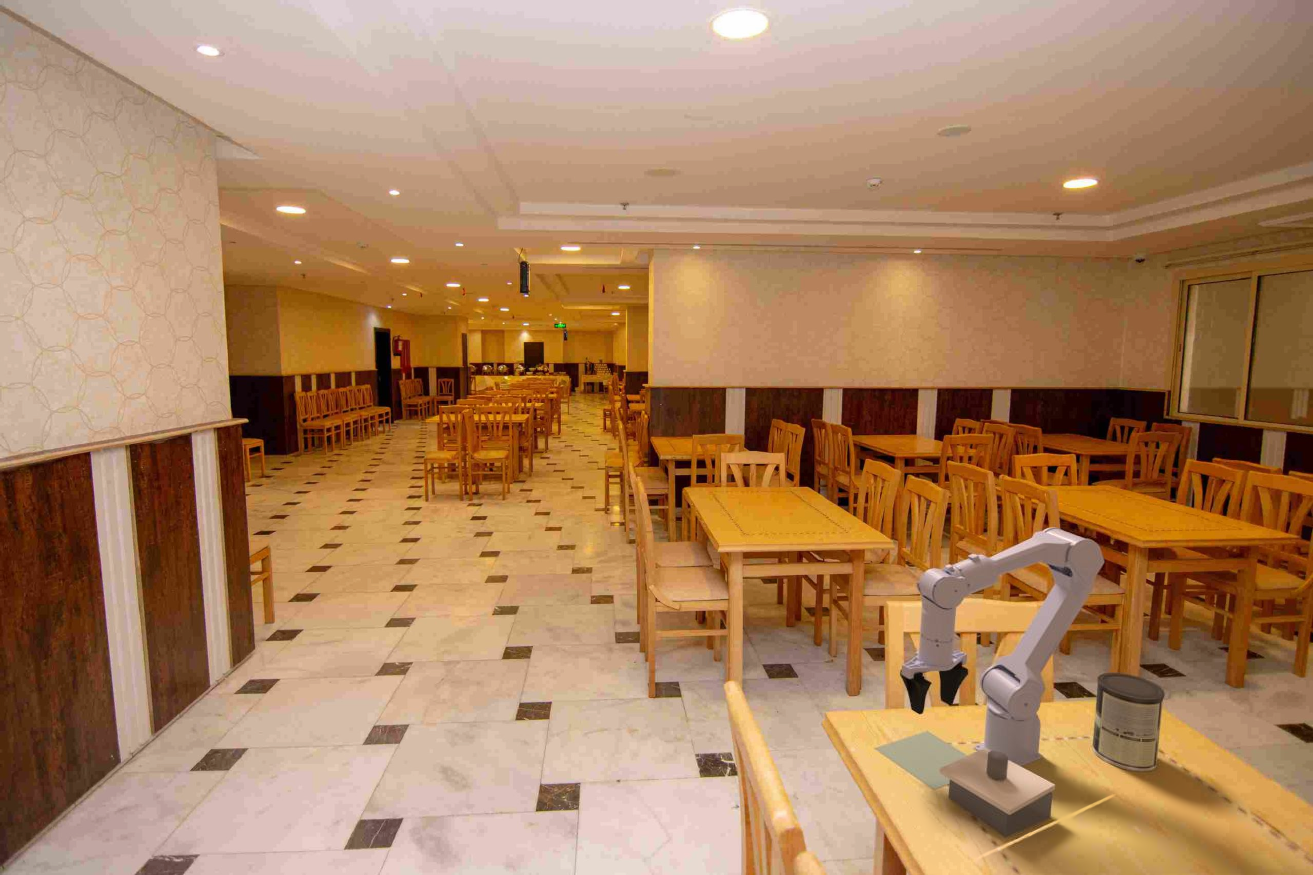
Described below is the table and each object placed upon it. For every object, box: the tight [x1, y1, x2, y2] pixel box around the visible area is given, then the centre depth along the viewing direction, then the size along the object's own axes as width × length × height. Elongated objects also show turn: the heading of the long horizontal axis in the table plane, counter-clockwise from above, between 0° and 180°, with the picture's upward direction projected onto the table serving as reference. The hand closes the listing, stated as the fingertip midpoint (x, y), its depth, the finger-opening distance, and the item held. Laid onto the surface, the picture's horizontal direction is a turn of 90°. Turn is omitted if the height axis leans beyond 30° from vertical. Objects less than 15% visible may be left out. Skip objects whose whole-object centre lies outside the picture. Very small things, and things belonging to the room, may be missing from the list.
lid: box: [940, 748, 1056, 815], centre depth 114 cm, size 12×12×4 cm
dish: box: [948, 780, 1053, 838], centre depth 114 cm, size 11×11×5 cm
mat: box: [874, 730, 969, 791], centre depth 128 cm, size 14×14×1 cm
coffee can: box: [1091, 672, 1166, 773], centre depth 129 cm, size 10×10×14 cm
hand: (931, 707), depth 127 cm, fingers open, 7 cm apart
